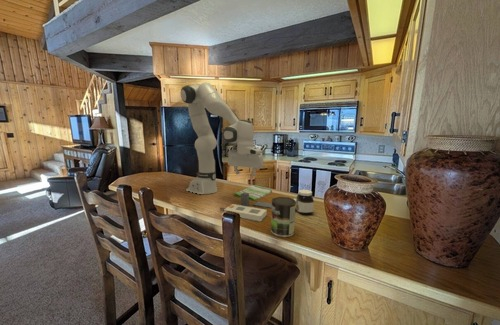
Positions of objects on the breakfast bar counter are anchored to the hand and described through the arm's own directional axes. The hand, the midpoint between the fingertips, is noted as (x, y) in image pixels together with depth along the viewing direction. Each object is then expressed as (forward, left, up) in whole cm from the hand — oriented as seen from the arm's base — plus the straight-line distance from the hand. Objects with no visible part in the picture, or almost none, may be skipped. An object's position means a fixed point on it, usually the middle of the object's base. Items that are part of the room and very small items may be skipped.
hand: (245, 174), depth 119 cm
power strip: (+2, -10, -19) cm, 22 cm away
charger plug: (0, 0, -19) cm, 19 cm away
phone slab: (+10, +8, -20) cm, 23 cm away
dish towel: (-5, +25, -20) cm, 32 cm away
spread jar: (+30, +7, -19) cm, 36 cm away
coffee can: (+27, -19, -19) cm, 38 cm away
